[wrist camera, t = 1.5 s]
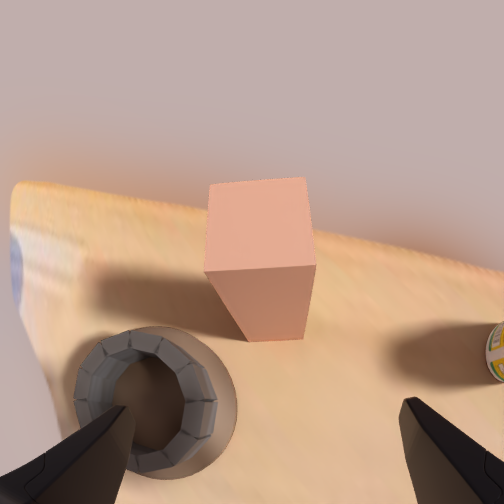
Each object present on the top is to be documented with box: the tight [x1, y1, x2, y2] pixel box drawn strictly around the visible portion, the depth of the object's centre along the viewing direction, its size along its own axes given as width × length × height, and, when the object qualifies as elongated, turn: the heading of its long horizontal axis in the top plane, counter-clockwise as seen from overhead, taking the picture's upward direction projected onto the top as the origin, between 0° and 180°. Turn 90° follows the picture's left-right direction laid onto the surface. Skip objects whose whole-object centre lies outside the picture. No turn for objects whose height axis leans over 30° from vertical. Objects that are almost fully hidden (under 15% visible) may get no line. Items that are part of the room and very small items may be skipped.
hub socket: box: [74, 327, 237, 480], centre depth 19 cm, size 12×12×4 cm
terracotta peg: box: [204, 177, 316, 342], centre depth 18 cm, size 4×4×13 cm
